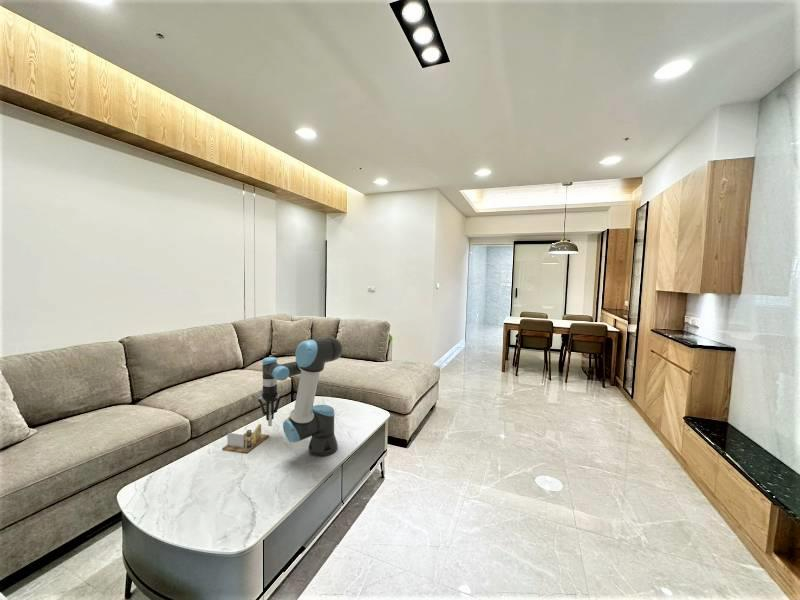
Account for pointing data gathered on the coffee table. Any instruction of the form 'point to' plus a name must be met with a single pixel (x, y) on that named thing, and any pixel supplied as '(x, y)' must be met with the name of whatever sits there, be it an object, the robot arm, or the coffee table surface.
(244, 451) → the walnut board
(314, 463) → the coffee table surface
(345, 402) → the coffee table surface
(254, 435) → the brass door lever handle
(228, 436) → the fixed leaf
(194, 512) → the coffee table surface
